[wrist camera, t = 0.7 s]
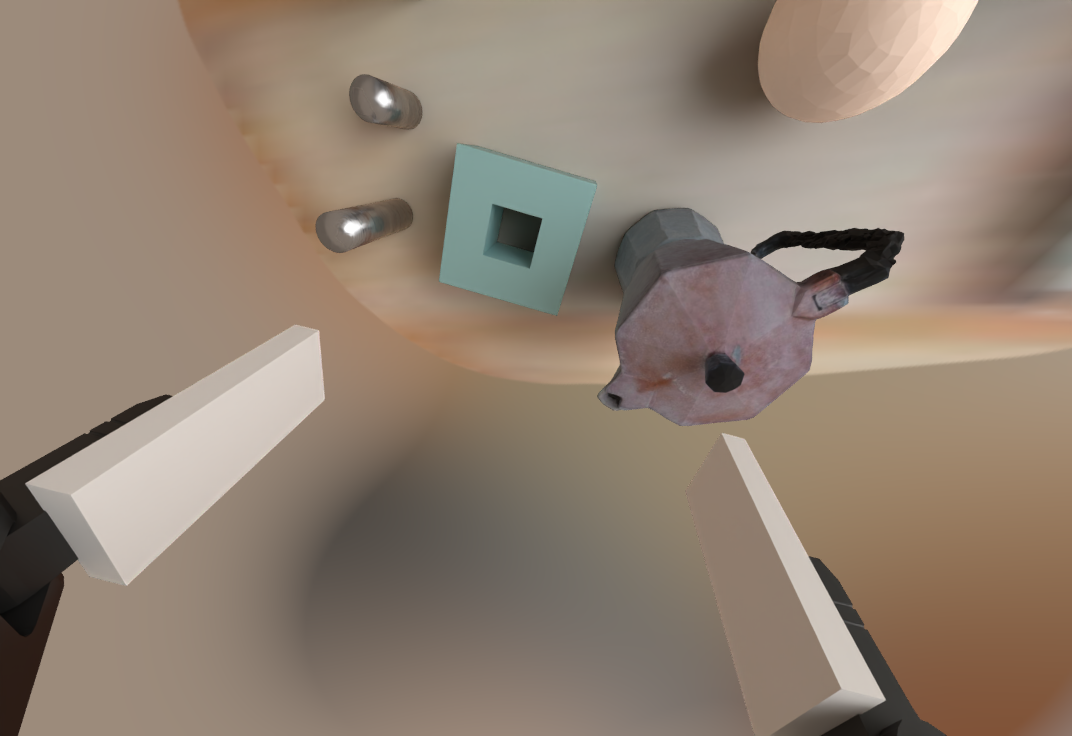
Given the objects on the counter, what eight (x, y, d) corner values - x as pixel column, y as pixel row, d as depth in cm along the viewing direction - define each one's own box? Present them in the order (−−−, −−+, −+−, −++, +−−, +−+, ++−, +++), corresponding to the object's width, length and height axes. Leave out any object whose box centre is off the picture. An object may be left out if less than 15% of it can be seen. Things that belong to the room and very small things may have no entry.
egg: (843, -77, 23) (1042, -259, 13) (898, 57, 25) (1101, -10, 15) (710, 49, 26) (787, -18, 16) (771, 156, 29) (869, 154, 19)
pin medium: (385, 194, 33) (315, 207, 25) (414, 203, 33) (354, 218, 25) (384, 224, 35) (316, 246, 26) (411, 232, 35) (353, 257, 26)
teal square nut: (477, 145, 31) (457, 143, 26) (595, 181, 31) (597, 185, 26) (458, 265, 36) (438, 281, 31) (560, 295, 36) (557, 315, 31)
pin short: (391, 85, 29) (349, 69, 24) (423, 95, 29) (389, 81, 24) (389, 123, 31) (349, 116, 25) (420, 133, 31) (387, 127, 25)
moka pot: (565, 271, 35) (545, 384, 17) (722, 140, 29) (934, 109, 11) (627, 345, 38) (663, 505, 20) (781, 239, 31) (1026, 338, 14)
